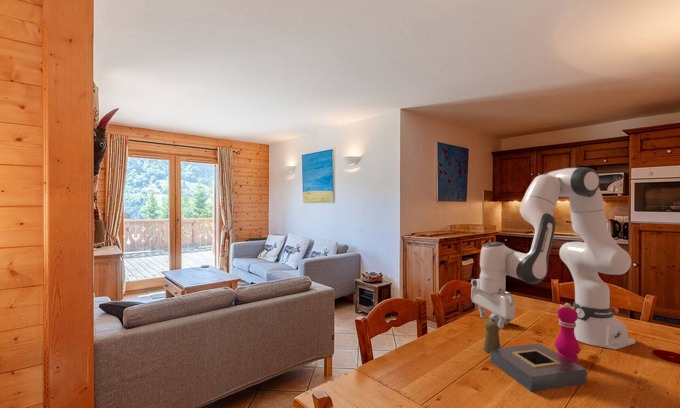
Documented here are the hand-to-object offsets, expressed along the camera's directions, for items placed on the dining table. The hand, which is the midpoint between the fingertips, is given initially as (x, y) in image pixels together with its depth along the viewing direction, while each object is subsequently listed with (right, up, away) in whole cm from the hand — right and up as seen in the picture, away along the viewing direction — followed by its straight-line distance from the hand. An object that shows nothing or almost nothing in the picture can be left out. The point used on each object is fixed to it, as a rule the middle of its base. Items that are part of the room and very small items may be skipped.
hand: (491, 322), depth 120 cm
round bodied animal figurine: (+15, -11, +26) cm, 32 cm away
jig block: (+8, -11, -15) cm, 20 cm away
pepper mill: (+24, -11, -6) cm, 27 cm away
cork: (0, -11, 0) cm, 11 cm away
